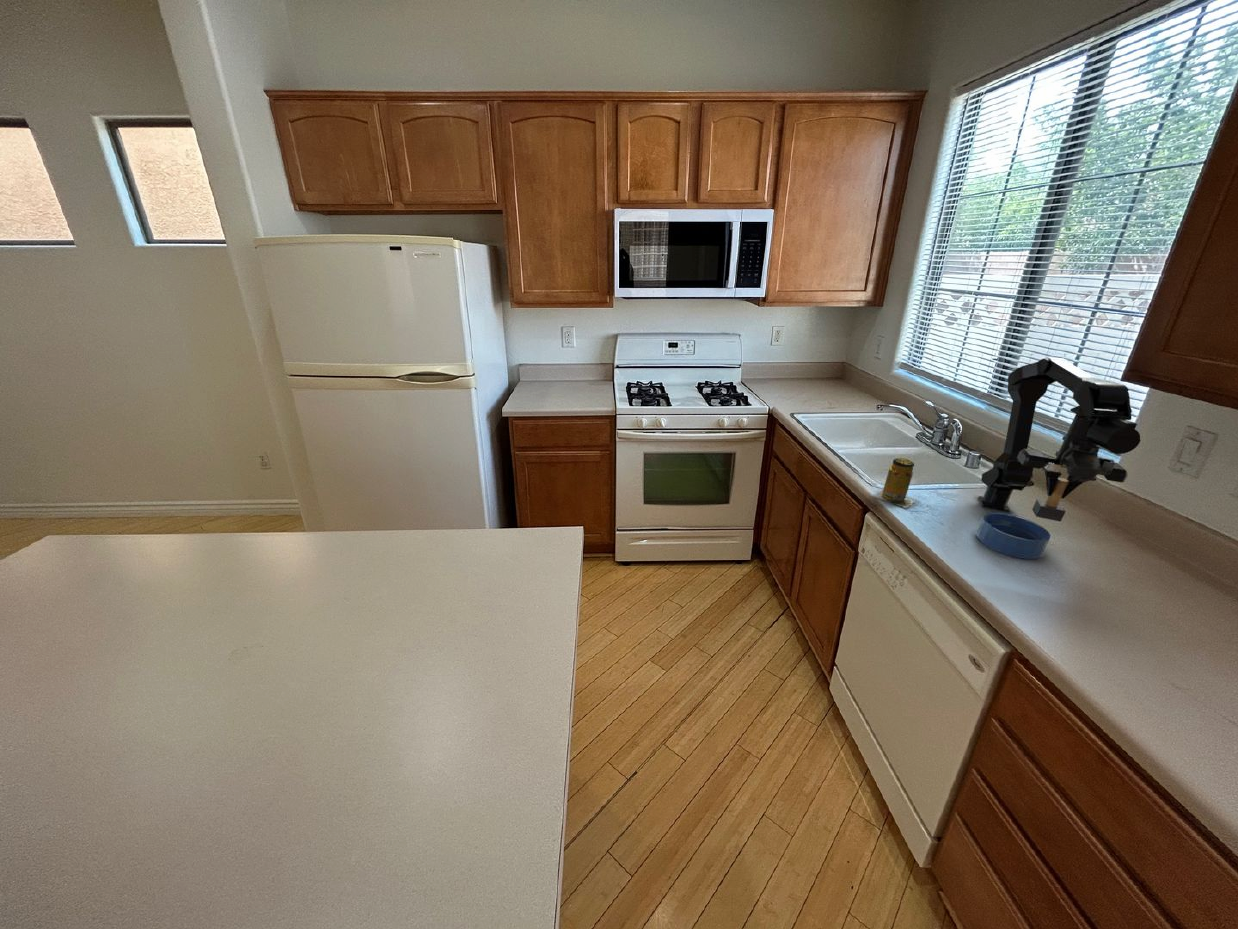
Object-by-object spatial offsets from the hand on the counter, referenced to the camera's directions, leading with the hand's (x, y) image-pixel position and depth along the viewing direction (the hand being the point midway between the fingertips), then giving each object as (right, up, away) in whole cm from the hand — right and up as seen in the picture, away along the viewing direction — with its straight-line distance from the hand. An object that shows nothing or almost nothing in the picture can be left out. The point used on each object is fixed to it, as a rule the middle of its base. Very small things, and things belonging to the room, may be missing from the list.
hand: (1054, 496), depth 115 cm
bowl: (-9, -12, +3) cm, 16 cm away
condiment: (-25, -3, +24) cm, 35 cm away
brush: (0, -5, +2) cm, 5 cm away
